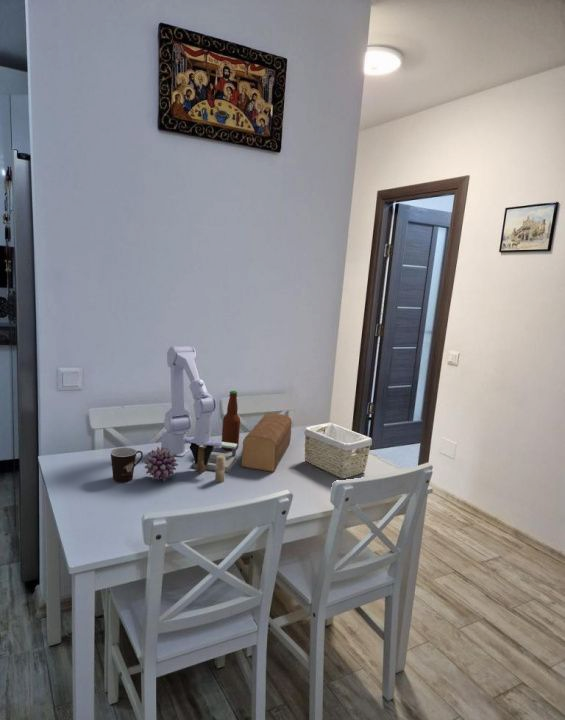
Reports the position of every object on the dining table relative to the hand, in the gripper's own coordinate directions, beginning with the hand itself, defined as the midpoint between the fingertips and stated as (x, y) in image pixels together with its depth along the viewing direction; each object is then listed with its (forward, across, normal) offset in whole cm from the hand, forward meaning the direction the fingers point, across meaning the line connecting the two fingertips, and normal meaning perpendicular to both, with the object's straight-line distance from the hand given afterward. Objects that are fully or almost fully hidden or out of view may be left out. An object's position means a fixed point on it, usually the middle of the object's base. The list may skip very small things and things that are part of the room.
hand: (201, 463), depth 181 cm
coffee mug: (+3, -22, -15) cm, 27 cm away
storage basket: (+3, +49, +22) cm, 54 cm away
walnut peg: (+3, 0, 0) cm, 3 cm away
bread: (+3, +21, +25) cm, 33 cm away
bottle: (+3, +4, +27) cm, 27 cm away
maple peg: (+3, +9, -6) cm, 11 cm away
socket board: (+3, +3, +8) cm, 9 cm away
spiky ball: (+3, -11, -12) cm, 17 cm away
